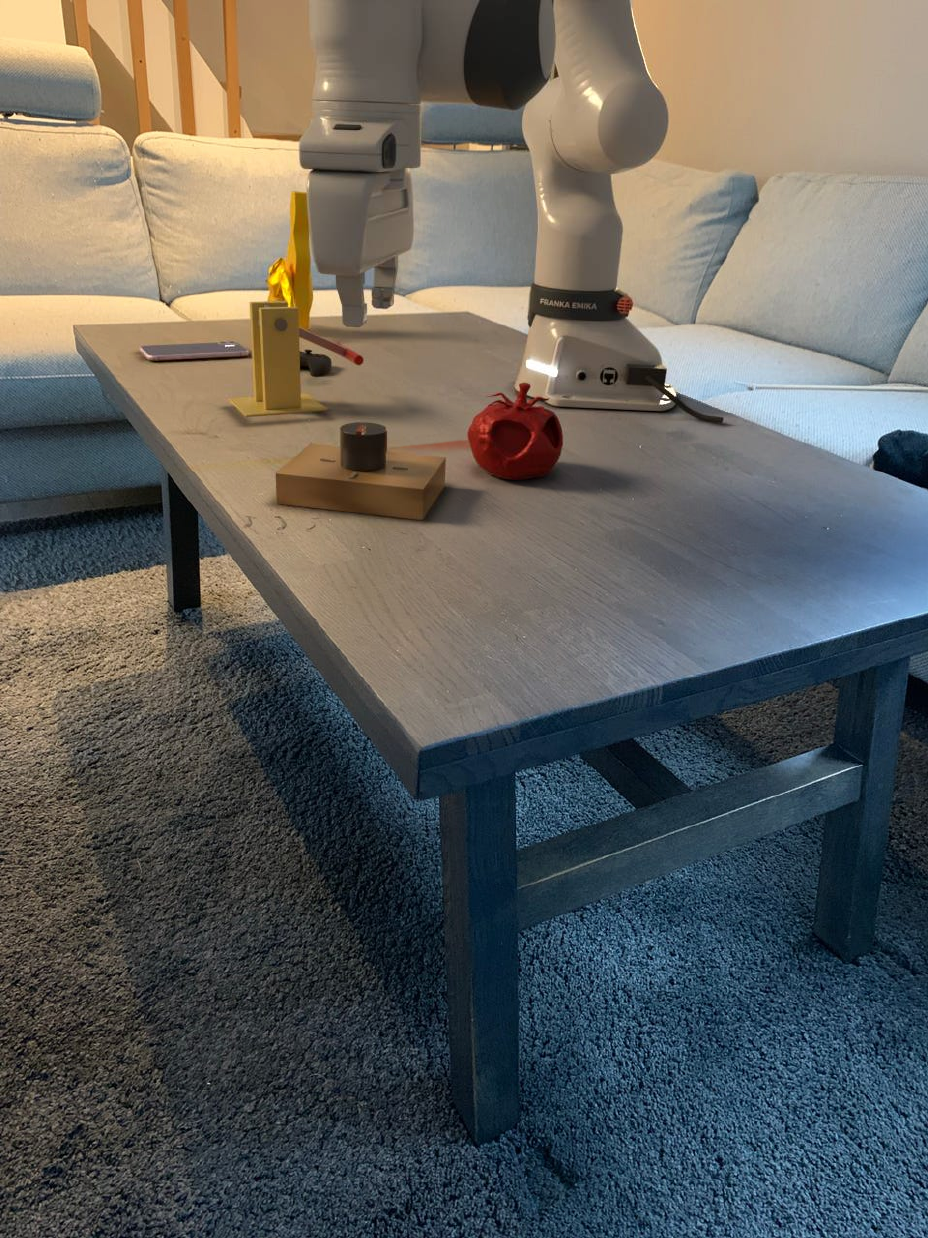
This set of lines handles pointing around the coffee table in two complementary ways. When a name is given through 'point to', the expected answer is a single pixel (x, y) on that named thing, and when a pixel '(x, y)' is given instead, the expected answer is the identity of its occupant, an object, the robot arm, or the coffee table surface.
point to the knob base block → (361, 483)
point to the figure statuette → (295, 264)
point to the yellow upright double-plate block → (275, 363)
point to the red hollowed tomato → (516, 437)
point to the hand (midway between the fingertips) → (369, 316)
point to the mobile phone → (193, 351)
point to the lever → (330, 345)
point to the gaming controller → (315, 363)
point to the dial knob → (363, 446)
